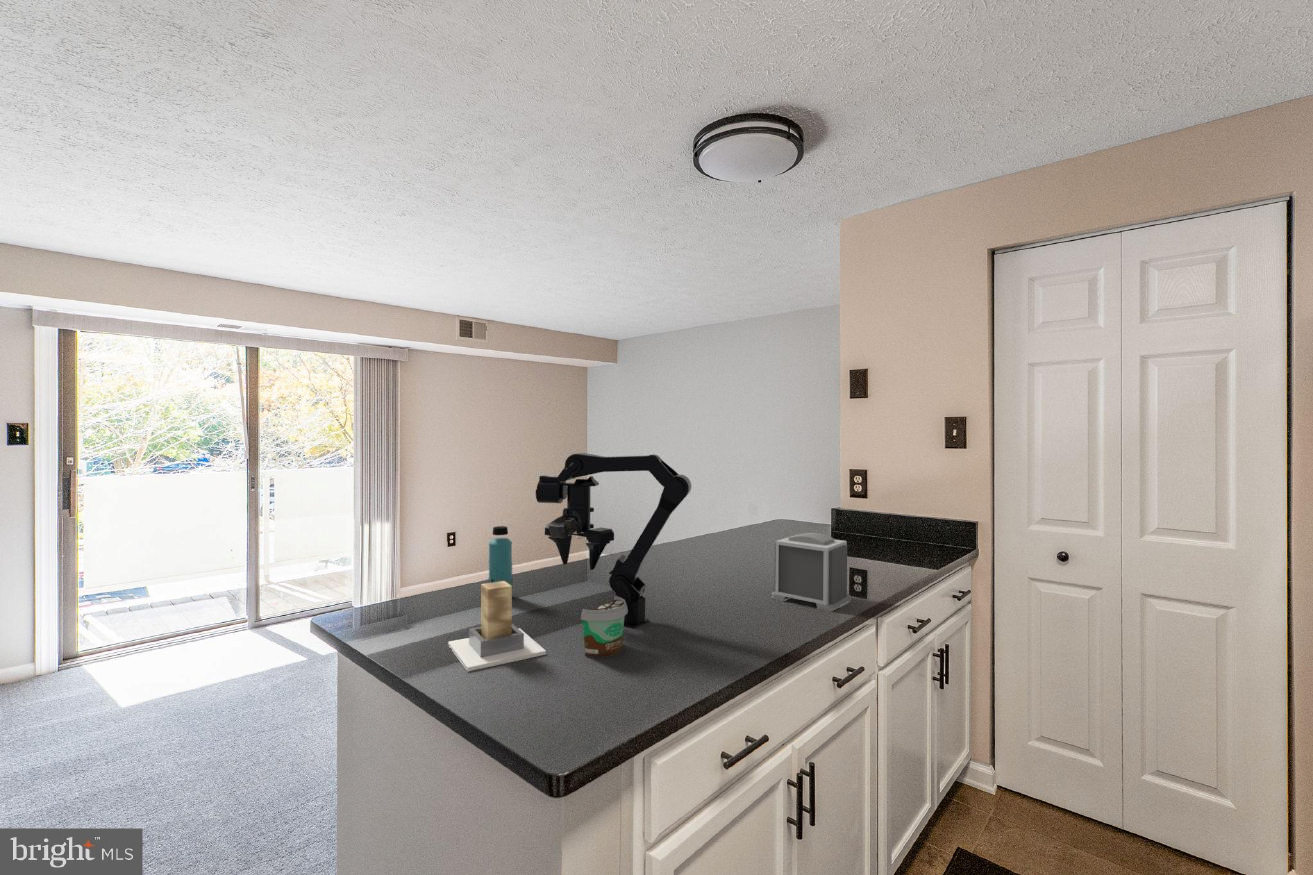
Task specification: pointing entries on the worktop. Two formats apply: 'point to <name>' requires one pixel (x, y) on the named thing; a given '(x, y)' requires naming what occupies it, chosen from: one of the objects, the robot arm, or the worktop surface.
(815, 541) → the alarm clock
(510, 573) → the beverage bottle
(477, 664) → the base plate
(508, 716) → the worktop surface
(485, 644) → the metal collar
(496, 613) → the pine post
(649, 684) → the worktop surface
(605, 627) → the food container
